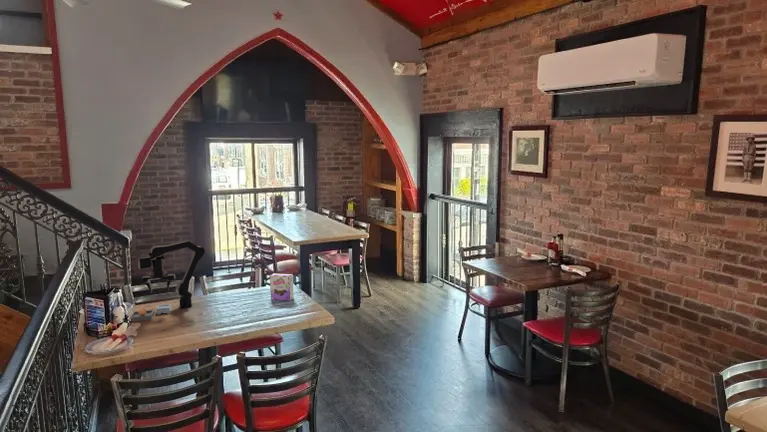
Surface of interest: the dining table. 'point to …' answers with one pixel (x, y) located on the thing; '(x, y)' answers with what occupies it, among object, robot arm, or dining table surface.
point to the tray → (147, 316)
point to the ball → (142, 311)
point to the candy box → (281, 287)
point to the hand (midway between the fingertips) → (159, 291)
